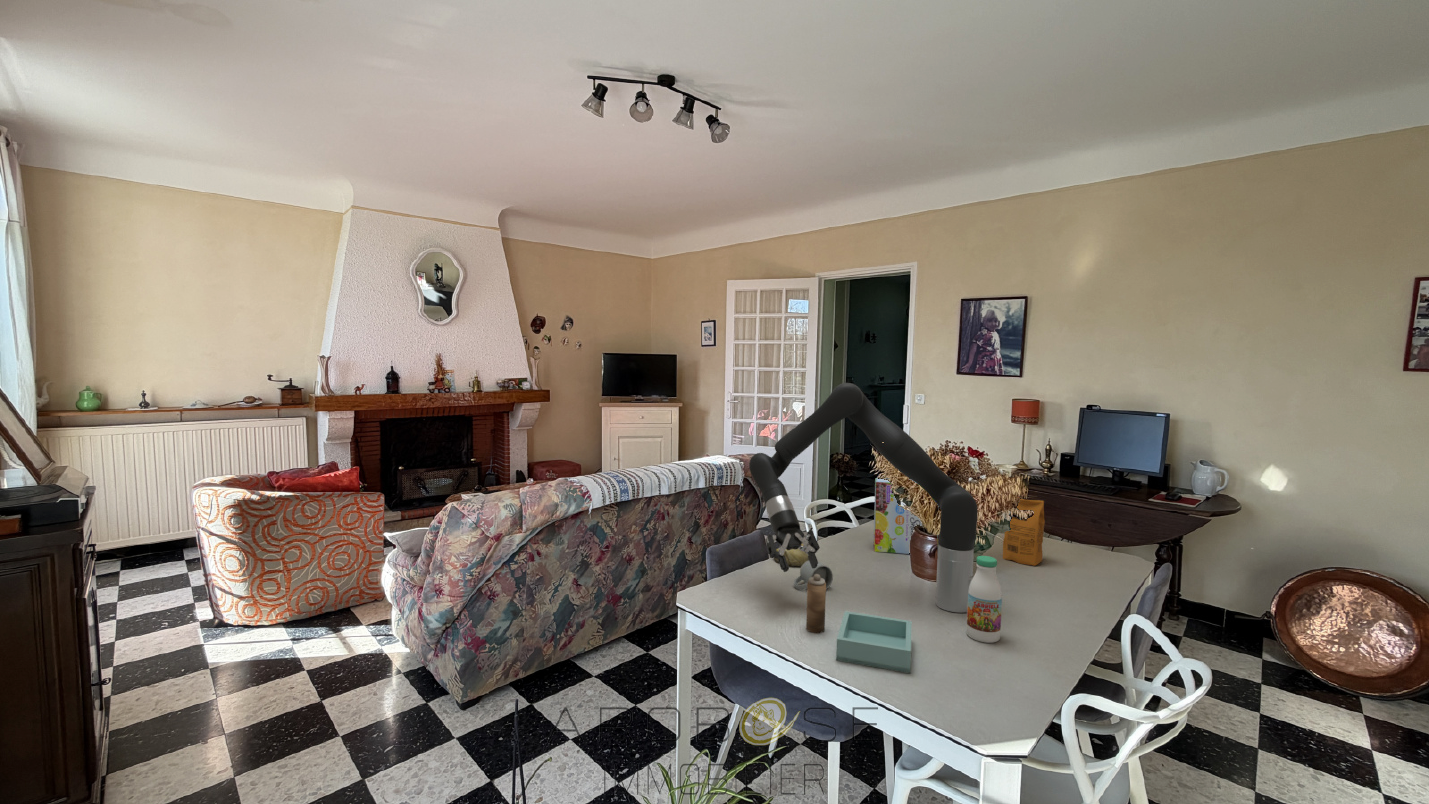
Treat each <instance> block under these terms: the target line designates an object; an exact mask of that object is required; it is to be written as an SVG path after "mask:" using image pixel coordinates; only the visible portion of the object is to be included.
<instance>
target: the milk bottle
mask: <svg viewBox="0 0 1429 804" xmlns="http://www.w3.org/2000/svg"><path fill="white" fill-rule="evenodd" d="M997 566H998V560H997V559H996V558H995V557H993V556H989V555H978V556H976V567H977V568H976V571H975V574H974V576H973V579H972V581H971V583H970V586H969V591H968V605H967V612H966V627H965V628H966V634H967V635H968V636H969V638H971V639H972V640H975V641H977V642H982V643H988V644H990V643H997V642H999V641H1000V639H1001V627H1002V612H1003V611H1002V610H1003V609H1002V606H1003V604H1002V603H1003V593H1002V591H1003V590H1002V587H1001V584H1000V582H999V579H998V577H997V572H996V570H997Z"/></svg>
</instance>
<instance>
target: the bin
mask: <svg viewBox="0 0 1429 804" xmlns="http://www.w3.org/2000/svg"><path fill="white" fill-rule="evenodd" d="M912 624H913V623H912V620H908V619H900V618H895V617H886V616H882V615H881V616H880V615H874V614H867V613H862V612H861V613H860V612H853V611H849V610H848V611H847V610H844V613H843V616H842V619H841V624H840V627H839V631H838V633H837V638H836V653H835V654H836V656H835V660H836V661H839V662H844V663H849V662H850V664H855V665H860V666H868V667H873V668H877V669H884V670H889V671H895V672H900V673H905V674H911V659H912Z"/></svg>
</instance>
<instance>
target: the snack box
mask: <svg viewBox="0 0 1429 804" xmlns="http://www.w3.org/2000/svg"><path fill="white" fill-rule="evenodd" d="M884 479H885V478H884ZM884 479H878V477H876V478H875V480H874V483H875V484H874V511H873V512H874V513H873V514H874V515H873V518H874V519H873V522H874V523H873V524H874V525H873V549H874V550H873V551H874V552H875V553H877V552H878V553H892V554H906V555H910V554H909V544H910V540H911V535H912V533H913V530H914V527H915V526H917V525H920V526H922V523H921V521H920V519H919V518H918V517H917V516H915V515H913V514H911V512H910V511H908V510H904V509H903V508H902V507H900V506H898V503H897V500H896V498H895V496H894V494H893V493H892V490H891V488H892V486H891V483H890V482H889V481H888V480H884Z"/></svg>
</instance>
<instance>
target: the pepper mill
mask: <svg viewBox="0 0 1429 804" xmlns="http://www.w3.org/2000/svg"><path fill="white" fill-rule="evenodd" d="M806 589H807V591H806V594H807V595H806V618H805V620H806V621H805V622H806V625H805V629H806V631H807V632H810V633H812V634H821V633H824V632H825V628H826V627H825V626H826V601H827V599H826V596H827V589H826V583H825V580H824V579H823V578H821V577H820V575H819V574H815V575H814V576H813V577H811V578H809V581H808V584H807V588H806Z"/></svg>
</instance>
